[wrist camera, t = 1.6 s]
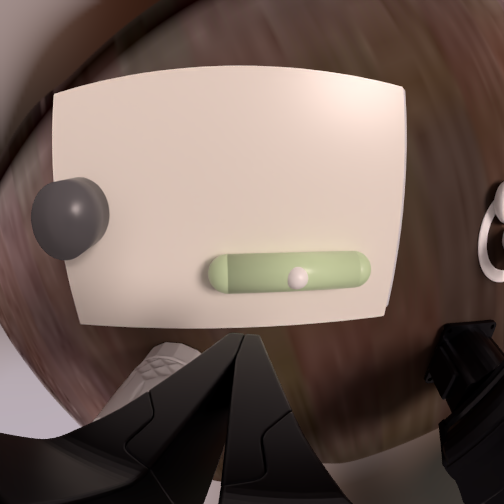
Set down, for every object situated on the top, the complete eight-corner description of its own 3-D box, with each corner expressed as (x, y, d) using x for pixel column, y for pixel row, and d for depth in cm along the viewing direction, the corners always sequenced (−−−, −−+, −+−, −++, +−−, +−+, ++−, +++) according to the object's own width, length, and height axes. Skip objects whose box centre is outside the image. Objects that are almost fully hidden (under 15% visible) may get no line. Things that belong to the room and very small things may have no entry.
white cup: (215, 337, 23) (174, 433, 13) (229, 401, 25) (204, 487, 16) (134, 332, 24) (74, 406, 14) (157, 393, 26) (117, 464, 17)
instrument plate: (393, 90, 12) (425, 80, 9) (376, 307, 16) (399, 334, 14) (59, 97, 11) (27, 90, 8) (83, 315, 15) (62, 342, 12)
